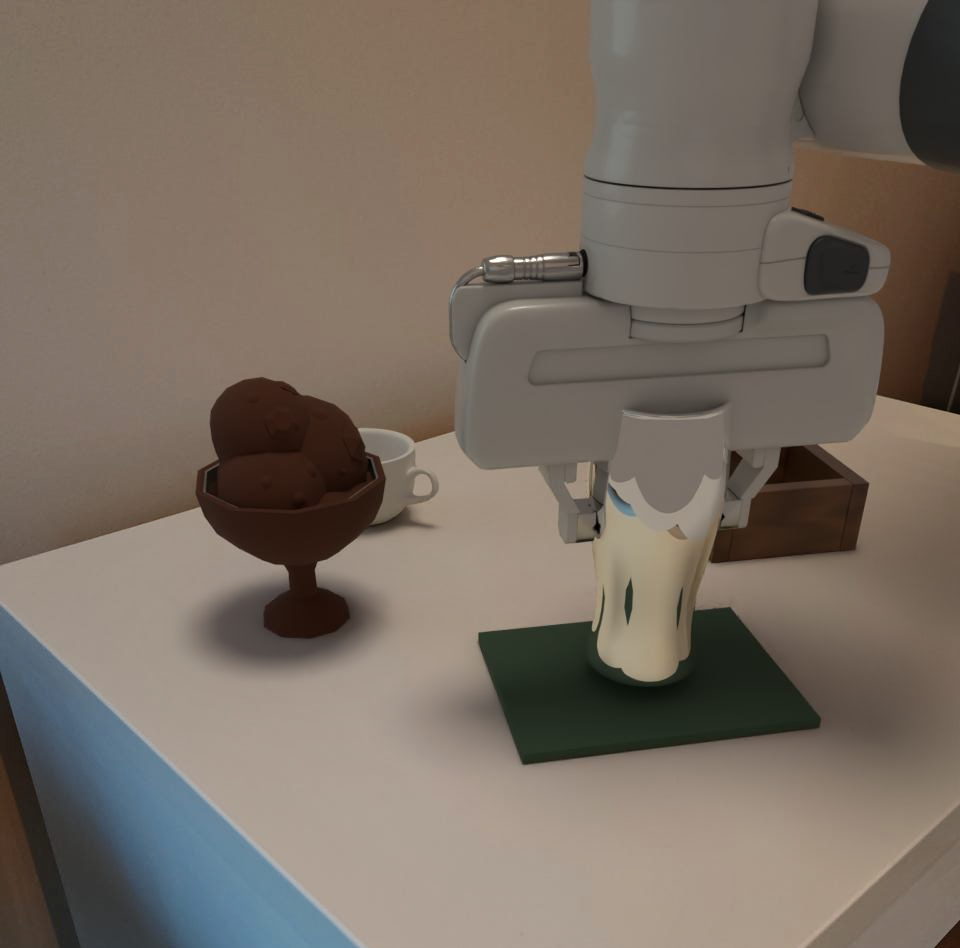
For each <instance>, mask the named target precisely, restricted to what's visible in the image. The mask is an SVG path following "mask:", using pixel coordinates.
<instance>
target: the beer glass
mask: <svg viewBox="0 0 960 948" xmlns="http://www.w3.org/2000/svg"><path fill="white" fill-rule="evenodd" d="M732 405H733V401H727V402H725V403H724V404H723V405H721V406H719V407H717V408H714V409H711V410H708V411H703V412H697V413H688V414H658V413H648V412H641V411H636V410H631V409H622V418H621V426H620V433H619V440H618V446H617V449H616V452H615V455H614V458H613V459H612V460H610V461H597V462H587V466H586V467H587V469H586V498H587V502H588V504H589V506H590V507H591V508H592V509H593V510H595V511H596V525H595V526H594V527H593V530H594V532H595V539H594V541H590V544H591V550H592V558H593V564H594V571H595V572H594V574H595V583H596V600H595V610H594V615H593V619H592V621H593V623H592V627H591V630H590V634H589V638H588V642H587V646H586V656H587V660H588V662H589V664H590V665H591V666H592V668H593V669H594V670H596V671H597V672H598V673H599V674H601V675H602V676H604V677H606V678H608V679H610V680H612V681H615V682H618V683H621V684H625V685H630V686H637V687H658V686H665V685H669V684H673V683H675V682H678V681H680V680H682V679H684V678H685V677H687V676H688V675H689V674H690V673H691V672H692V671H693V669H694V667H695V665H696V660H697V652H696V640H695V629H694V612H695V610H696V604H697V599H698V594H699V590H700V587H701V584H702V580H703V577H704V574H705V571H706V569H707V565H708V562H709V560H710V559H709V557H710V554H711V550H712V547H713V544H714V541H715V538H716V535H717V532H718V528H719V524H720V521H721V517H722V513H723V509H724V505H725V499H726V493H727V487H728V481H729V471H730V460H731V416H732Z"/></svg>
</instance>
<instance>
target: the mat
mask: <svg viewBox="0 0 960 948" xmlns="http://www.w3.org/2000/svg"><path fill="white" fill-rule="evenodd" d="M592 623H593V620H586V621H577V622H576V621H575V622H567V623H558V624H550V625H549V624H546V625H538V626H529V627H528V626H527V627H518V628H508V629H500V630H499V629H497V630H488V631H480V632H477V633H478V634H477V640H478V644H479V647H480V649H481V652H482V656H483V658H484V660H485V663H486V667H487V669H488V671H489V674H490V677H491V679H492V683H493V685H494V687H495V690H496V693H497V696H498V699H499V702H500V704H501V707H502V710H503V713H504V715H505V718H506V721H507V723H508V726H509V730H510V733H511V735H512V738H513V740H514V743H515V746H516V749H517V751H518V754H519V756H520V757H519V758H520V760H521V762H522V764H533V763H540V762H549V761H557V760H565V759H572V758H581V757H582V758H583V757H589V756H598V755H606V754H614V753H620V752H629V751H636V750H644V749H654V748H662V747H670V746H677V745H679V746H680V745H685V744H694V743H702V742H710V741H711V742H712V741H719V740H726V739H727V740H728V739H734V738H742V737H750V736H758V735H768V734H774V733H784V732H792V731H800V730H808V729H816V728H820V725H821V720H822V717H821V716H820V715H819V714H818V712H817V711H816V710H815V709H814V707H813V706H812V705H811V704H810V702H809V701H808V700H807V698H806V697H805V696H804V695H803V694H802V693H801V692H800V690H799V689H798V687H796V686H795V685H794V683H793V682H792V681H791V679H790V678H789V677H788V676H787V674H786V673H785V672H784V671H783V670H782V668H781V667H780V666H779V665H778V663H776V661H775V660H774V658H773V657H772V656H771V655H770V654H769V652H768V651H767V650H766V649H765V647H764V646H763V645H762V643H760V641H759V640H758V639H757V637H756V636H754V634H753V632H752V631H751V630H750V629H749V628H748V627H747V626H746V624H745V623H744V622H743V620H742V619H741V618H740V616H738V614H737V613H736V612H735V611H734V610H733V609H732V607H731V606H725V607H716V608H705V609H695V612H694V629H695V640H696V652H697V660H696V665H695V667H694V669H693V671H692V672H691V673H690V674H689V675H688V676H687V677H685V678H684V679H682V680H680V681H678V682H675V683H673V684H669V685H665V686H658V687H637V686H630V685H625V684H621V683H618V682H615V681H612V680H610V679H608V678H606V677H604V676H602V675H601V674H599V673H598V672H597V671H596V670H594V669H593V668H592V666H591V665H590V664H589V662H588V660H587V656H586V646H587V642H588V638H589V634H590V630H591V627H592Z"/></svg>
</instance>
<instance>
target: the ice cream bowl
mask: <svg viewBox="0 0 960 948" xmlns="http://www.w3.org/2000/svg"><path fill="white" fill-rule="evenodd" d="M209 414H210V415H209V416H210V417H209V429H210V437H211V442H212V445H213V448H214V449H213V450H214V452H215V455H216V457H217V458H218V459H216V460H214V461H213V462H211V463H208V464H207V465H205V466H204V467H201V468H199V469H198V470H197V472H196V473H197V475H196V483H195V484H196V485H195V493H194V495H195V496H196V499H197V502H198V504H199V507H200V509H201V512H202V515H203V517H204V518H205V520H206V521H207V522H208V524H209V525H210V526H211V528H212V530H213V531H214V532H215V533H216V535H217V536H219V537H220V538H222V539H224V540H225V541H227V543H230V544H231V545H232V546H234V547H236V548H237V549H239V550H240V551H242V552H245V553H247V554H249V555H251V556H253V557H254V558H256V559H258V560H261V561H263V562H266V563H269V564H272V565H275V566H283V567H284V568H285V569H286V572H287V574H288V585H289V589H288V590H286V591H283V592H281V593H279V594H277V596H275V597H274V598H272V599H271V600H270V601H269V602H268V603H266V604H265V605H264V608H263V615H262V617H263V627H264V628H265V629H266V630H269V631H271V632H272V633H274V634H276V635H277V636H279V637H282V638H298V639H299V638H300V639H311V638H316V637H319V636H322V635H327V634H330V633H332V632H336V631H338V630H339V629H340V628H341V627H342V626H343V625H344V624H345V623H346V622H347V621H348V620H350V619H351V615H350V610H349V604H348V602H347V600H346V597H344V596H342V595H340V594H339V593H337V592H334V591H332V590H330V589H329V588H328V589H327V588H324V587H320V586H318V581H317V575H316V569H317V566H318V563H319V562H323V561H328V560H329V559H330V558H332V557H333V556H335V555H337V554H338V553H340V552H341V551H343V550H344V549H345V548H347V546H349V545H350V544H352V543H353V542H354V541H355V540H357V539H358V538H359V537H360V536H361V535H362V533H364V531H366V529H367V528H368V527H370V526H371V525H370V524H371V523H372V522H373V521H374V520H375V518H376V516H377V513H378V511H379V509H380V506H381V504H382V502H383V495H384V489H385V482H386V477H385V473H384V470H383V467H382V464H381V461H380V458H379V456H376V455H373V454H371V453H368V452H365V444H364V442H363V440H362V437H361V435H360V433H359V431H358V427H357V426H356V425H355V424H354V422H353V420H352V419H351V417H350V416H349V414H348V413H346V412H345V411H344V410H342V408H340V407H339V406H338V405H336V404H335V403H332V402H330V401H327V400H324V399H320V398H318V397H314V396H312V395H309V394H308V395H307V394H306V395H305V394H301V393H299V391H297V390H296V388H295V387H294V386H292V385H291V384H289V383H287V382H285V381H283V380H273V379H270V378H267V377H263V376H260V377H251V378H245V379H242V380H240V381H238V382H236V383H234V384H232V385H230V386H228V387H226V388H225V389H224V390H223V392H221V394H220V395H218V397H217V399H216V400H215V402H214V404H213V406H212V407H211V409H210V413H209Z"/></svg>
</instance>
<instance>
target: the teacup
mask: <svg viewBox="0 0 960 948" xmlns="http://www.w3.org/2000/svg"><path fill="white" fill-rule="evenodd" d="M357 428H358V427H357ZM358 431H359V433H360V435H361V437H362V440H363V442H364V444H365V452H368V453H371V454H373V455H376V456H379V458H380V461H381V464H382V467H383V470H384V473H385V477H386V482H385V489H384V495H383V502H382V504H381V506H380V509H379V511H378V513H377V516H376V518H375V520H374V521H373V522H372V523H371V524H370V525H369V526H376V525H380V524H383V523H386V522H389V521H390V520H392V519H394V518H395V517H397V516H398V515H399V514H400V513H402V512H403V511H404V510H405V508H406V507H407V506H411V505H412V506H413V505H418V504H419V505H420V504H422V503H425V502H429V501H430V500H431V499H433V498H434V497H436V496H437V494H438V492H439V488H440V482H439V480H438V476H437V475H436V473H435V472H434V471H433V470H432V469H431V468H429V467H426V466H425V465H424V466H423V465H418V466H416V442H415V441H414V439H412V438H411V437H410V436H408V435H406V434H404V433H402V432H399V431H395V430H390V429H384V428H375V427H359V428H358ZM419 475H425V476H427V477H428V478H429V480H430V482H431V491H430V492H429V493H428V494H425V495H416V494H414V488H415V481H416V480H415V479H416V478H417V477H418V476H419Z"/></svg>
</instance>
